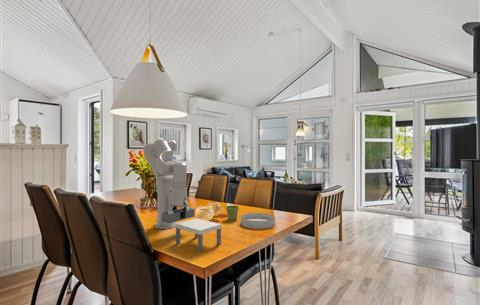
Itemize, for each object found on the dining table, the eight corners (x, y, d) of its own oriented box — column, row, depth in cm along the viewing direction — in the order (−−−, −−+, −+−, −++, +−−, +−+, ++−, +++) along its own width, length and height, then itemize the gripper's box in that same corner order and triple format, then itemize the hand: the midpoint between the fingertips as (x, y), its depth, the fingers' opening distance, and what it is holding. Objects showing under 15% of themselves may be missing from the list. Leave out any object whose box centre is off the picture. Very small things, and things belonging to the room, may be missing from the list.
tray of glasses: (161, 221, 144) (161, 211, 144) (186, 214, 158) (187, 205, 158) (169, 223, 140) (169, 213, 140) (194, 216, 154) (194, 207, 154)
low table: (175, 243, 134) (175, 223, 134) (196, 236, 145) (196, 218, 145) (200, 252, 123) (200, 230, 123) (220, 244, 134) (221, 224, 134)
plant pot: (222, 219, 183) (222, 206, 183) (232, 217, 190) (232, 204, 190) (231, 221, 177) (231, 208, 177) (241, 219, 183) (242, 206, 183)
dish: (273, 230, 159) (273, 221, 159) (237, 228, 163) (237, 219, 163) (276, 220, 181) (276, 213, 181) (244, 219, 185) (244, 211, 185)
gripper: (164, 183, 151) (163, 215, 152) (184, 187, 140) (183, 221, 141) (175, 182, 157) (174, 212, 157) (194, 186, 146) (194, 218, 147)
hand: (178, 216), depth 149 cm, fingers closed on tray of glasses, 6 cm apart
